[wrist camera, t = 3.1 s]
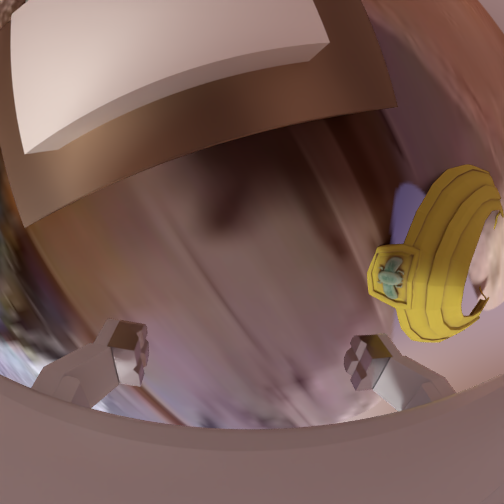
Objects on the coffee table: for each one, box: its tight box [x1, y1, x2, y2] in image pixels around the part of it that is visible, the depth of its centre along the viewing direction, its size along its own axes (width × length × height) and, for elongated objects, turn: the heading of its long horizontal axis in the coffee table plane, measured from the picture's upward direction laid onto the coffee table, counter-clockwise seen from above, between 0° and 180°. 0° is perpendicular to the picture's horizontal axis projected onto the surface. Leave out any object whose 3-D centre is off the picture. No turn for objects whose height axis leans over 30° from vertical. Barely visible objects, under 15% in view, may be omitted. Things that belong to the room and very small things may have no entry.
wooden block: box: [0, 0, 398, 228], centre depth 8 cm, size 15×10×4 cm, turn 106°
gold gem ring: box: [367, 164, 504, 342], centre depth 14 cm, size 13×13×4 cm
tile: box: [11, 0, 330, 154], centre depth 5 cm, size 9×6×2 cm, turn 106°
